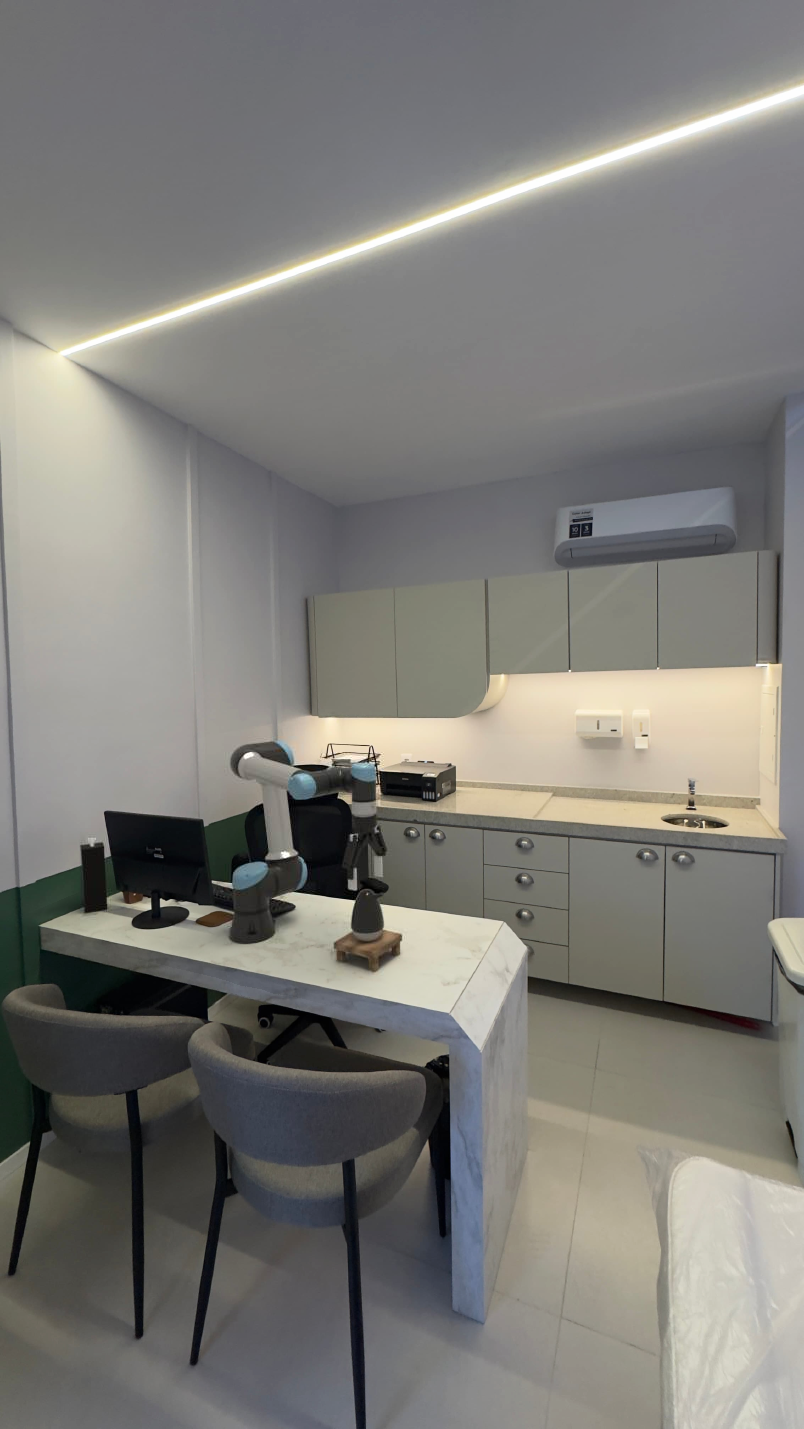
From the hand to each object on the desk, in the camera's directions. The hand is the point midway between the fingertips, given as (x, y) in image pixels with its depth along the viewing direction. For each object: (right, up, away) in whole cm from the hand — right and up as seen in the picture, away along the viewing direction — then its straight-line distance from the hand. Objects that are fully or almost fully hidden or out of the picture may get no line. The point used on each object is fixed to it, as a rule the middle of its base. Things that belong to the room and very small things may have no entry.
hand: (366, 882), depth 186 cm
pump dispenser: (+1, -17, +1) cm, 17 cm away
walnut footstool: (+1, -23, +1) cm, 23 cm away
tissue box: (-108, -24, +50) cm, 121 cm away
